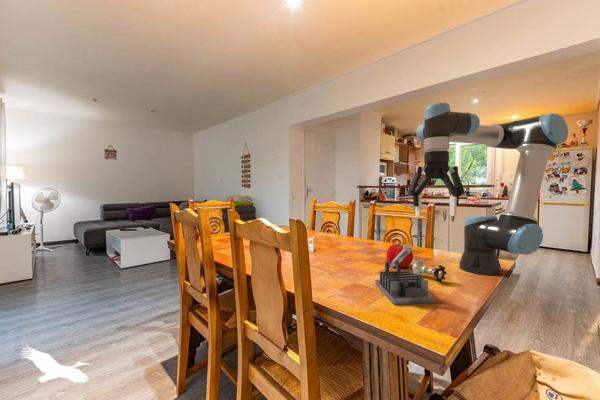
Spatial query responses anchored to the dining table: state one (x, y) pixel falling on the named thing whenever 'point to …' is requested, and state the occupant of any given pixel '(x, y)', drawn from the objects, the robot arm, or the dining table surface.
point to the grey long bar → (401, 255)
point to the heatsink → (404, 286)
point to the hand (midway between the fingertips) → (435, 215)
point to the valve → (428, 270)
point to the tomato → (394, 252)
